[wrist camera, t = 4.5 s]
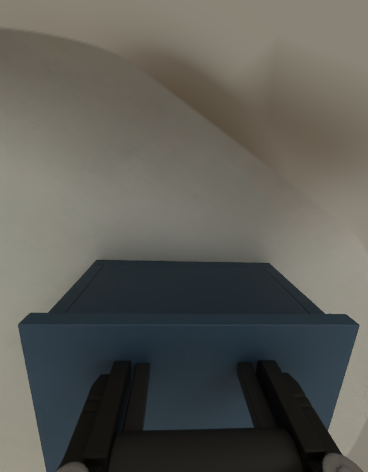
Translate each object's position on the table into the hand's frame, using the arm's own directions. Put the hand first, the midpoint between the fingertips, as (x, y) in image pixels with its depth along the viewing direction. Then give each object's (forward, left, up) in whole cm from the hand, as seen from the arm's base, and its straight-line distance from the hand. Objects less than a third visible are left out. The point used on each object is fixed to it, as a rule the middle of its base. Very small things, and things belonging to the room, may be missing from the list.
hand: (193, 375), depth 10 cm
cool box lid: (+7, -1, -1) cm, 7 cm away
